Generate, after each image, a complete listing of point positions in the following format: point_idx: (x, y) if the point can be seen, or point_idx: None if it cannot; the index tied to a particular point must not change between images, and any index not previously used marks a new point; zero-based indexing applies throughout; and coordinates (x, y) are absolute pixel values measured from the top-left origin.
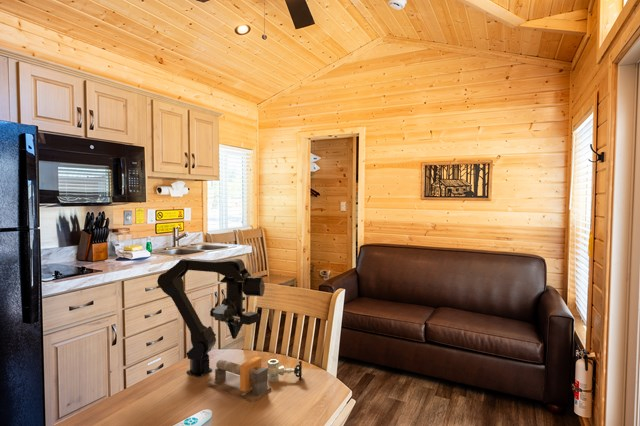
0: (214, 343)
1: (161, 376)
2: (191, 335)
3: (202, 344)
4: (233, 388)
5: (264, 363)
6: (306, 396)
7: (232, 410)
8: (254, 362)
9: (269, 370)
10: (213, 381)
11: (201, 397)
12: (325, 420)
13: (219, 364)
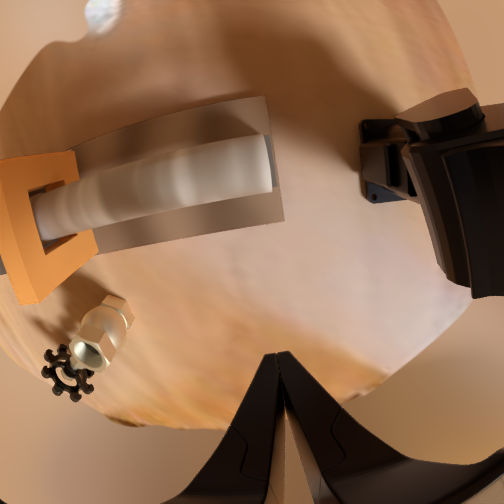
0: (437, 253)
1: (449, 62)
2: None
3: (447, 115)
4: (125, 149)
5: (248, 371)
6: (8, 295)
7: (47, 90)
8: (2, 247)
9: (91, 317)
10: (249, 118)
11: (190, 35)
12: None
13: (233, 139)
